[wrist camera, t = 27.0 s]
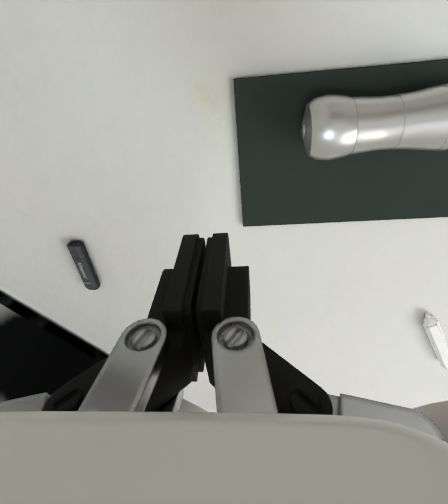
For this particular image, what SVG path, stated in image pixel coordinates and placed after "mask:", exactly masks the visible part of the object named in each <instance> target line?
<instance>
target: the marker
mask: <svg viewBox="0 0 448 504" xmlns="http://www.w3.org/2000/svg"><path fill="white" fill-rule="evenodd" d="M423 327H424V329H425V331H426V333H427V336H428V338H429V340H430V342H431V345H432V347H433V349H434V351H435V354H436V356H437V358H438V360H439V363H440V365H441V366H442V367H444V368H446V369H448V344H447V341H446V339H445V336H444V334H443V331H442V329H441V326H440V324H439V321H438V319H436V318H434V317H432V316H431V315H430V314H429V313H427V312H426V315H425V318H424V319H423Z"/></svg>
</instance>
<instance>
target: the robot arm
mask: <svg viewBox="0 0 448 504" xmlns="http://www.w3.org/2000/svg"><path fill="white" fill-rule="evenodd" d="M204 363H206V368H207V372H208V376H209V381H210V383H211V384H212V385H213V386H214V387H215V392H216V405H217V413H215V412H178V410H179V407H180V404H181V401H182V398H183V393H184V391H183V389H184V388H185V387H186V386H187V385H188V384H190V383H191V381H197V377H198V372H203V370H204ZM0 504H448V443H446V442H444V439H443V437H442V434H441V432H440V429H439V428H438V427H437V425H436V424H435V423H434V422H433V420H431V419H430V418H429V417H427V416H426V415H425V414H423V413H421V412H419V411H416V410H413V409H410V408H405V407H401V406H396V405H391V404H387V403H382V402H378V401H373V400H368V399H364V398H359V397H355V396H350V395H345V394H341V393H340V397H338V396H334V395H329V394H327V393H326V392H325V391H324V390H323V389H322V388H321V387H320V386H318V385H317V384H316V383H315V382H313V381H312V380H311V379H309V378H308V377H307V376H305V375H304V374H303V373H302V372H300V371H299V370H298V369H296V368H295V367H294V366H292V365H291V364H290V363H288V362H287V361H286V360H285V359H283V358H282V357H281V356H279V355H278V354H277V353H275V352H274V351H273V350H271V349H270V348H269V347H268V346H266V345H265V344H264V343H262V341H261V337H260V332H259V330H258V327H257V326H256V325H255V324H254V323H253V322H252V321H251V314H250V280H249V266H239V267H231V258H230V248H229V238H228V233H216V234H213V237H211V238H208V239H207V245H206V246H205V240H204V238H199V235H198V234H194V235H184V236H183V238H182V242H181V245H180V249H179V252H178V256H177V259H176V263H175V266H174V269H165V270H163V272H162V275H161V278H160V281H159V284H158V287H157V291H156V294H155V297H154V300H153V303H152V306H151V309H150V312H149V315H148V318H147V319H142V320H138V321H136V322H134V323H132V324H131V325H129V326H128V327H127V328H126V329H125V330H124V331H123V333H122V334H121V336H120V338H119V339H118V341H117V343H116V345H115V346H114V348H113V350H112V352H111V353H110V355H109V356H107V357H106V358H104V359H103V360H101V361H100V362H98V363H97V364H95V365H94V366H92V367H91V368H89V369H87V370H86V371H84V372H83V373H81V374H80V375H78V376H77V377H75V378H74V379H72V380H71V381H69V382H68V383H66V384H65V385H63V386H62V387H60V388H59V389H58V390H56V391H55V392H54V393H53V394H52V395H50V396H49V395H48V394H47V393H42V394H38V395H33V396H28V397H24V398H19V399H15V400H10V401H5V402H1V403H0Z"/></svg>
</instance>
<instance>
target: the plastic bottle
mask: <svg viewBox="0 0 448 504" xmlns="http://www.w3.org/2000/svg"><path fill="white" fill-rule="evenodd" d="M301 133H302V138H303V142H304V146H305V149H306V153H307V155H308V156H309V157H311V158H313V159H316V160H332V159H337V158H341V157H345V156H347V155H348V154H349V155H351V154H357V153H363V152H369V151H375V150H389V149H392V150H394V149H412V150H429V151H430V150H432V151H444V150H447V149H448V84H442V85H439V86H433V87H429V88H425V89H421V90H417V91H413V92H407V93H400V94H395V95H387V96H365V97H349V96H344V95H324V96H320V97H316V98H314V99H312V100H311V101H310V102H309V103H307V105H306V109H305V113H304V117H303V122H302V127H301Z"/></svg>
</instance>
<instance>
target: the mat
mask: <svg viewBox="0 0 448 504" xmlns="http://www.w3.org/2000/svg"><path fill="white" fill-rule="evenodd" d="M442 84H448V59H444V60H434V61H423V62H412V63H401V64H390V65H379V66H369V67H358V68H347V69H336V70H325V71H314V72H304V73H293V74H282V75H271V76H260V77H249V78H239V79H234V94H235V109H236V125H237V140H238V155H239V170H240V185H241V200H242V216H243V226H264V225H286V224H307V223H328V222H349V221H370V220H392V219H413V218H434V217H448V149H447V150H444V151H432V150H430V151H429V150H412V149H394V150H392V149H389V150H375V151H369V152H363V153H357V154H351V155H349V154H348V155H347V156H345V157H341V158H337V159H332V160H316V159H313V158H311V157H309V156H308V155H307V153H306V149H305V146H304V142H303V138H302V133H301V127H302V122H303V117H304V113H305V109H306V105H307V103H309V102H310V101H311V100H312V99H314V98H316V97H320V96H324V95H344V96H349V97H365V96H387V95H395V94H400V93H407V92H413V91H417V90H421V89H425V88H429V87H433V86H439V85H442Z"/></svg>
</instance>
